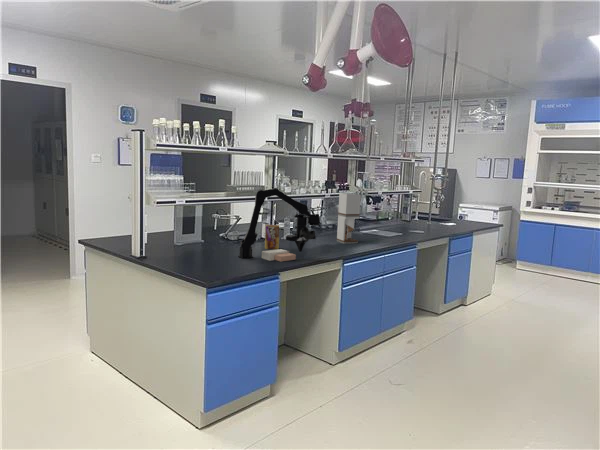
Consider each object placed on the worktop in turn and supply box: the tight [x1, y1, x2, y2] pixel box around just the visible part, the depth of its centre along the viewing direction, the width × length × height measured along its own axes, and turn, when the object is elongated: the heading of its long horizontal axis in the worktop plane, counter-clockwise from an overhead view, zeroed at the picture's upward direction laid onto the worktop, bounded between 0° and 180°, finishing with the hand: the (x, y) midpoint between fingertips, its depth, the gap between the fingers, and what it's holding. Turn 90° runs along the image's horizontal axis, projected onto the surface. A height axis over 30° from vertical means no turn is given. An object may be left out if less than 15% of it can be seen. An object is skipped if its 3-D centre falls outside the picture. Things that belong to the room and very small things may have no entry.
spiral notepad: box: [261, 248, 290, 262], centre depth 257 cm, size 14×8×4 cm, turn 132°
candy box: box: [264, 224, 280, 250], centre depth 284 cm, size 9×4×15 cm, turn 96°
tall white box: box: [336, 192, 362, 245], centre depth 319 cm, size 11×11×35 cm
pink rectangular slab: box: [274, 252, 297, 263], centre depth 252 cm, size 11×5×3 cm, turn 132°
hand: (300, 251), depth 260 cm, fingers closed
